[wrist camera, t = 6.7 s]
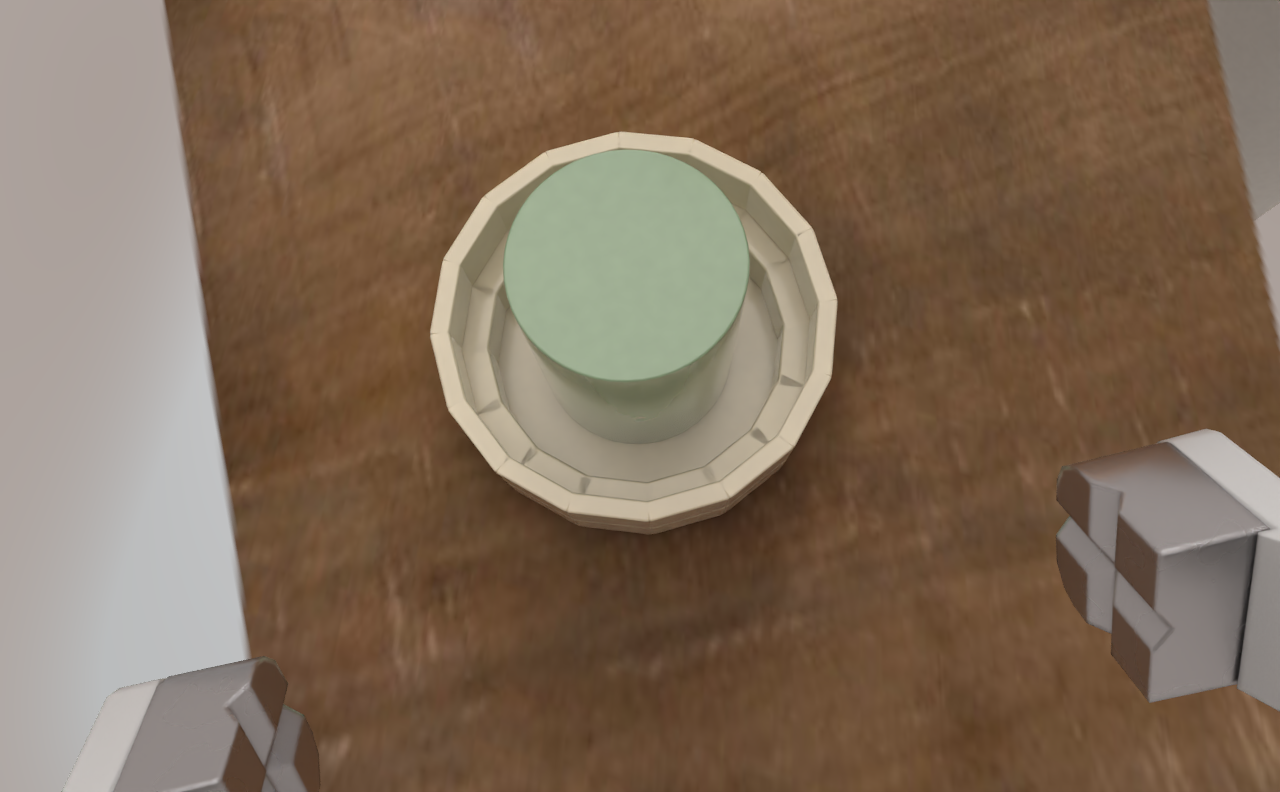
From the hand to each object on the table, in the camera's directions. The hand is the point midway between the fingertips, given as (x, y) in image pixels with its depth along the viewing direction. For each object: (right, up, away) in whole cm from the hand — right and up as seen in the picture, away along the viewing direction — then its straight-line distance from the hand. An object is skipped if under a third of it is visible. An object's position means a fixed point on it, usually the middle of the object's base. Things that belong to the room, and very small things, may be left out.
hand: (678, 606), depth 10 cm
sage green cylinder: (0, +4, +24) cm, 24 cm away
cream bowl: (0, +3, +24) cm, 25 cm away
